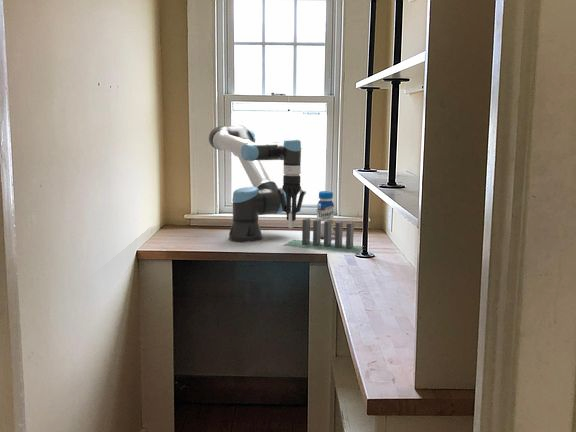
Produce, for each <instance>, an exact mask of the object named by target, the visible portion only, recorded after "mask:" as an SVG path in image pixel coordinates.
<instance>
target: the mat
mask: <svg viewBox="0 0 576 432" xmlns="http://www.w3.org/2000/svg"><path fill="white" fill-rule="evenodd" d="M282 246H283V247H291V248H302V249H308V250H309V249H312V250H319V251H331V252H339V253H349V254H356V255H357V254H360V253H361V252H362V251H363V250H362V245H353V247H352V248H351V249H346V244H343V243H342V246H341V247H340V248H335V242H334V243H332V242H331V245H330V246H328V247H324V241H323V242H321V241H320V244H319V245H317V246H313V240H312V241H311V240H310V243H308V244H306V245H303V244H302V239H301V240H300V239H292V240H290V241H288V242H286V243H285V244H283V245H282Z"/></svg>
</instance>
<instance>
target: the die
mask: <svg viewBox="0 0 576 432" xmlns="http://www.w3.org/2000/svg"><path fill="white" fill-rule="evenodd" d="M324 222H325V221H321V239H324ZM333 234H335V230H334V226H333V227H332V233H331V236H333Z"/></svg>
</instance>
